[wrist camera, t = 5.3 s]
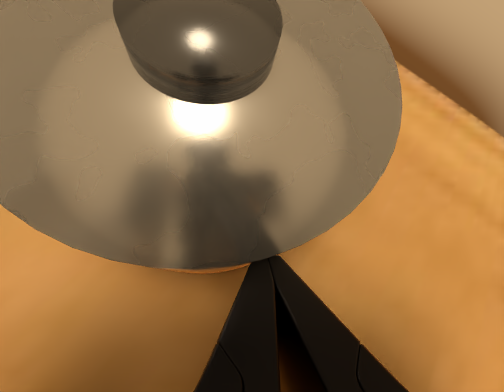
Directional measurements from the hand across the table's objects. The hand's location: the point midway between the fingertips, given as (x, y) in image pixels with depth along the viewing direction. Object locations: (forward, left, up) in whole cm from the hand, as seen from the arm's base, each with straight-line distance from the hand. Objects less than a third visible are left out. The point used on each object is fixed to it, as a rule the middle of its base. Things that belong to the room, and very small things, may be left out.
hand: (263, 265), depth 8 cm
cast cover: (+6, -4, -7) cm, 10 cm away
